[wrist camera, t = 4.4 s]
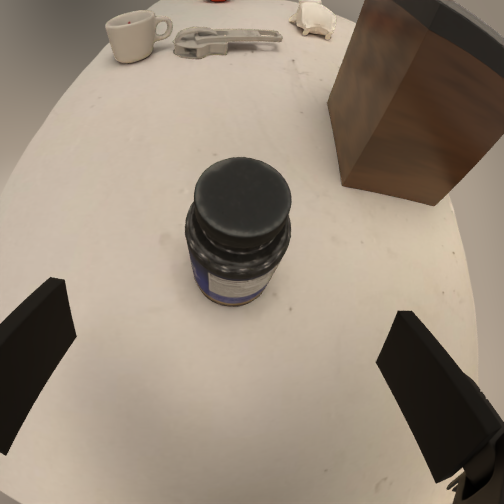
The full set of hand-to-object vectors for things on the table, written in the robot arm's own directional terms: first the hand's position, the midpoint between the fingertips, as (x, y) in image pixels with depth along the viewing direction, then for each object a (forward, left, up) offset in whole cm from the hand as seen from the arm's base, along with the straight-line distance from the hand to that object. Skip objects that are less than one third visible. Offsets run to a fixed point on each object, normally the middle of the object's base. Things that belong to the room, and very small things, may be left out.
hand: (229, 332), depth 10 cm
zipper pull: (+46, +5, -12) cm, 47 cm away
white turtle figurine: (+65, -11, -12) cm, 67 cm away
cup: (+43, +19, -12) cm, 48 cm away
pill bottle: (+7, 0, -12) cm, 14 cm away
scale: (+25, -17, +7) cm, 31 cm away
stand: (+25, -17, -12) cm, 32 cm away
